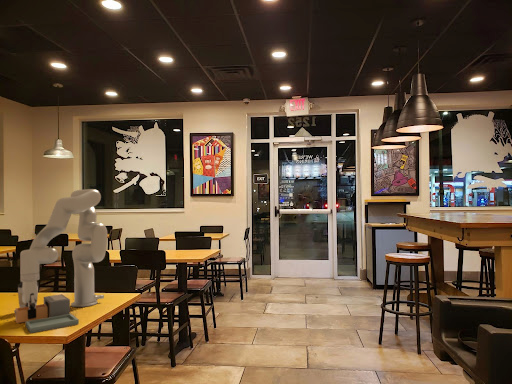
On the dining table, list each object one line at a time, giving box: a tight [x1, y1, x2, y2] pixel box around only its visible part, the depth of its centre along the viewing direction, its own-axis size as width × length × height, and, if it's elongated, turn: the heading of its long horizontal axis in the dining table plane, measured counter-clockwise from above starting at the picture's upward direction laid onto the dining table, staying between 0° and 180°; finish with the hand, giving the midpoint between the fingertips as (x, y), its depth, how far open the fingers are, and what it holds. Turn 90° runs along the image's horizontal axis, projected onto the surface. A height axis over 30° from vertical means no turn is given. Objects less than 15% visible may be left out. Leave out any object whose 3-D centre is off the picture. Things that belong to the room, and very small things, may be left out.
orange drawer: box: [13, 303, 49, 324], centre depth 176 cm, size 12×7×5 cm, turn 126°
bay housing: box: [43, 294, 71, 318], centre depth 183 cm, size 16×8×8 cm, turn 38°
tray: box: [25, 313, 80, 334], centre depth 166 cm, size 18×13×2 cm
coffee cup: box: [17, 281, 39, 308], centre depth 192 cm, size 9×9×15 cm
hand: (30, 316), depth 176 cm, fingers closed on orange drawer, 7 cm apart
